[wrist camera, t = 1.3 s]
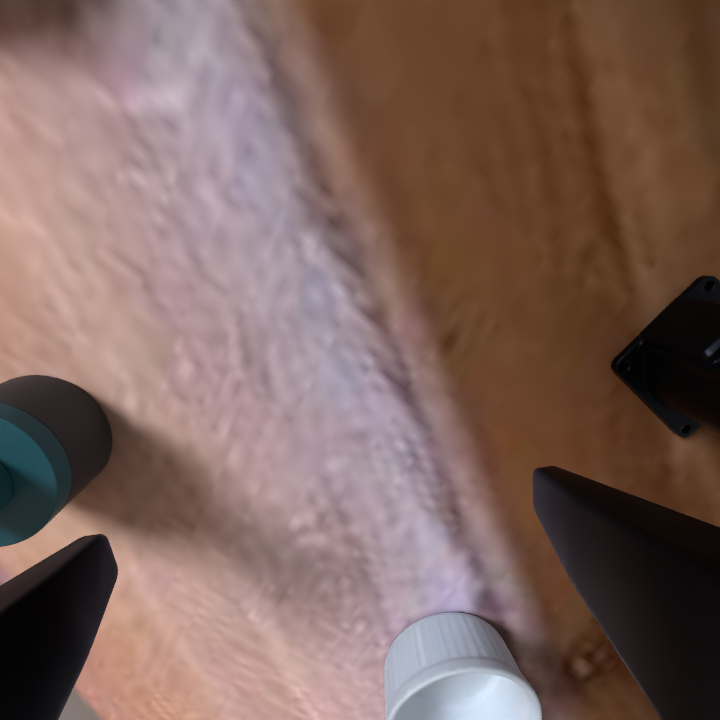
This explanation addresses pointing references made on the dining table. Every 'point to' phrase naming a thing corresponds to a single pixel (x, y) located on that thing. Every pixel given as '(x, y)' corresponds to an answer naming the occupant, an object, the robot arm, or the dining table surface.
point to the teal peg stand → (46, 451)
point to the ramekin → (455, 673)
